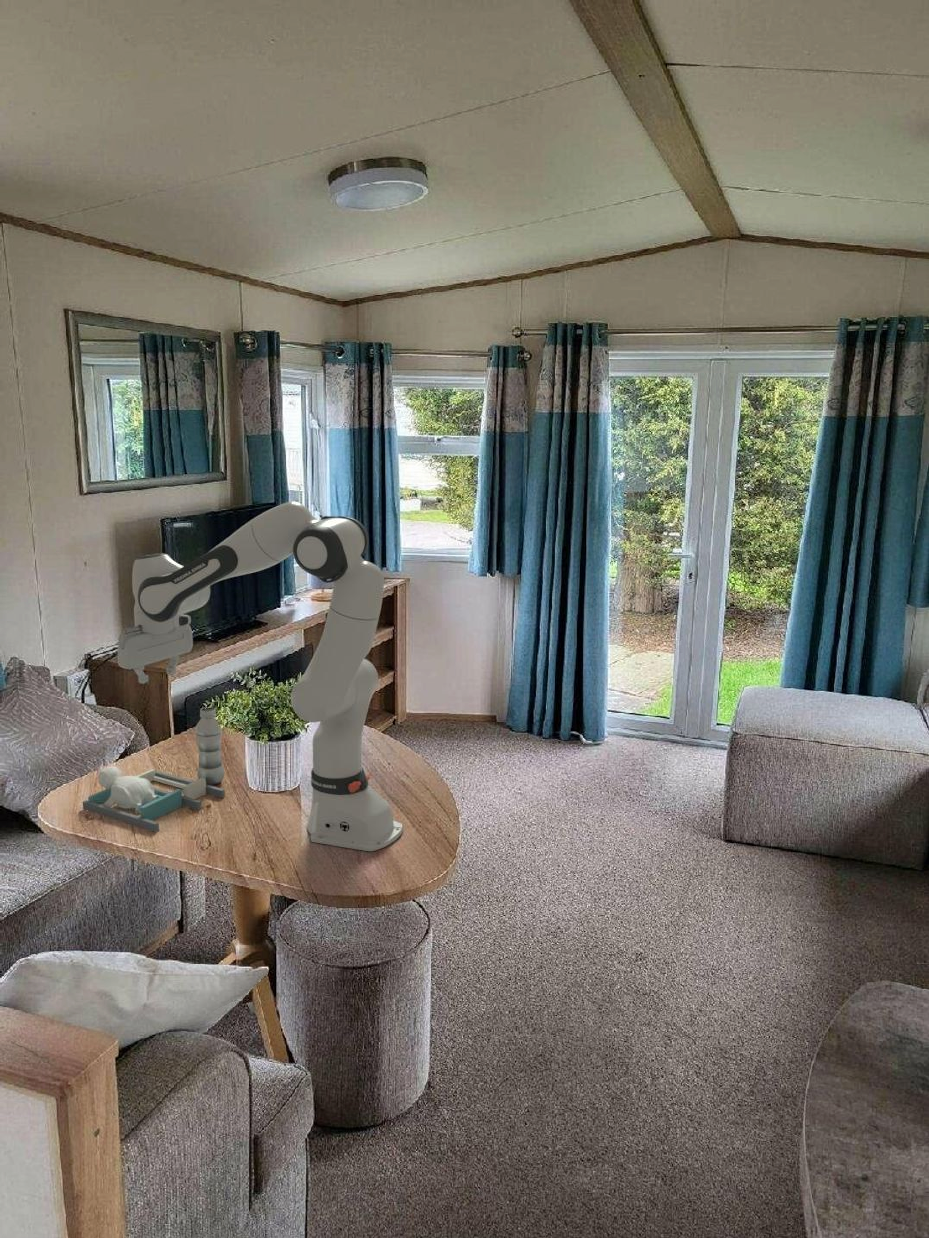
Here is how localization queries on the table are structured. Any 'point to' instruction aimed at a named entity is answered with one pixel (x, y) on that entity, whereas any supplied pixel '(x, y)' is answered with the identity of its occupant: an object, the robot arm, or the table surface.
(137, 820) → the lane rails
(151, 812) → the teal sled
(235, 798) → the table surface
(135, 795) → the white animal figurine
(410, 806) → the table surface
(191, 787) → the grey elongated piece
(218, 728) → the plastic bottle
